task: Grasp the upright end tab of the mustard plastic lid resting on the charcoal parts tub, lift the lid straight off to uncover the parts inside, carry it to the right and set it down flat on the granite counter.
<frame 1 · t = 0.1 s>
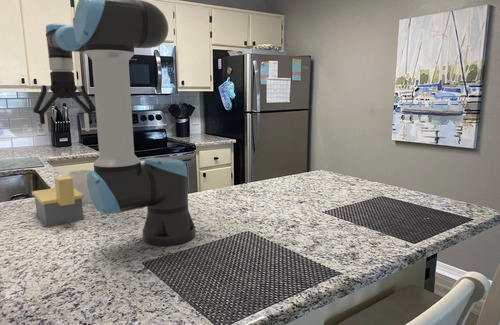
hand: (67, 132, 135), 28 cm above the counter, fingers open, 13 cm apart
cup: (83, 203, 146), on the counter
lid: (66, 203, 118), point 8 cm above the counter, touching tub
steel dowel: (57, 215, 130), point 1 cm above the counter, touching tub
tub: (59, 218, 127), on the counter
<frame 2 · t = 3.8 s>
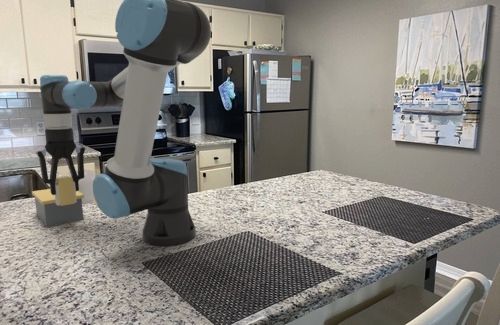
hand: (66, 202, 117), 8 cm above the counter, fingers closed on lid, 4 cm apart
lid: (66, 203, 118), point 8 cm above the counter, touching gripper, tub
everything else where it was.
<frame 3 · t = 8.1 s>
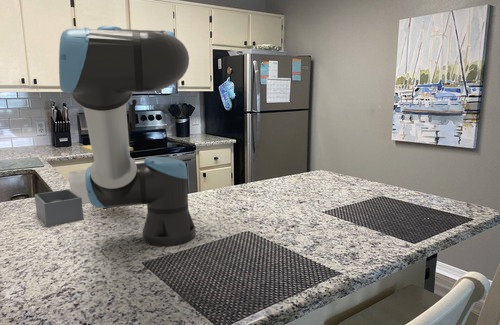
hand: (118, 153, 122), 23 cm above the counter, fingers closed on lid, 4 cm apart
lid: (118, 153, 122), point 22 cm above the counter, touching gripper
everything else where it was.
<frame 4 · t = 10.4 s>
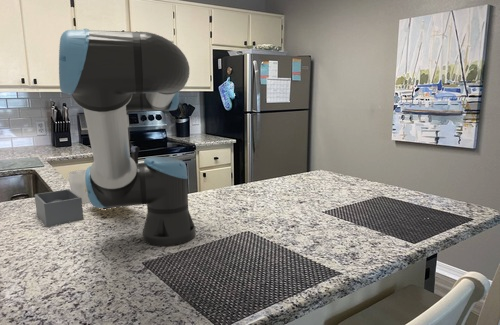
hand: (121, 199, 125), 7 cm above the counter, fingers closed on lid, 4 cm apart
lid: (121, 199, 125), point 7 cm above the counter, touching gripper
everything else where it was.
when the fingers open (2 cm above the counter, at t = 12.3 s): lid drops 2 cm, on the counter.
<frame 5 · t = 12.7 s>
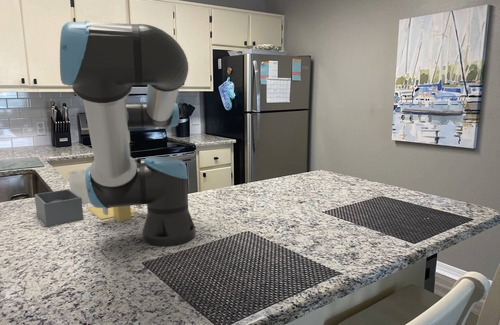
hand: (122, 210, 125), 3 cm above the counter, fingers open, 10 cm apart
lid: (123, 220, 126), on the counter
everything else where it was.
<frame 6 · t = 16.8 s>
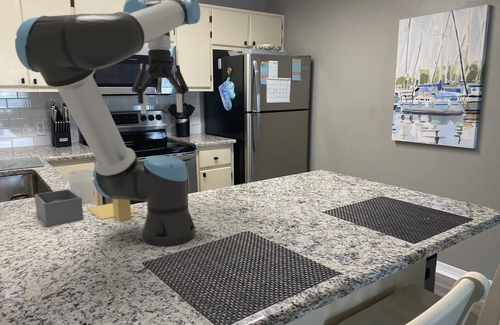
hand: (162, 113, 132), 35 cm above the counter, fingers open, 13 cm apart
nothing on the counter moved.
at the end: lid inside the target area (0.1 cm from its centre), on the counter; lid touching counter; the gripper is holding nothing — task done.
